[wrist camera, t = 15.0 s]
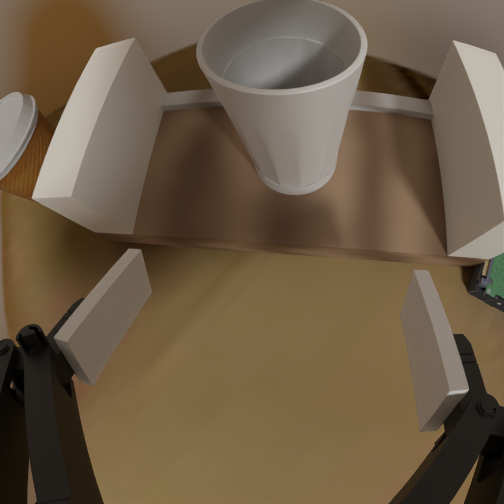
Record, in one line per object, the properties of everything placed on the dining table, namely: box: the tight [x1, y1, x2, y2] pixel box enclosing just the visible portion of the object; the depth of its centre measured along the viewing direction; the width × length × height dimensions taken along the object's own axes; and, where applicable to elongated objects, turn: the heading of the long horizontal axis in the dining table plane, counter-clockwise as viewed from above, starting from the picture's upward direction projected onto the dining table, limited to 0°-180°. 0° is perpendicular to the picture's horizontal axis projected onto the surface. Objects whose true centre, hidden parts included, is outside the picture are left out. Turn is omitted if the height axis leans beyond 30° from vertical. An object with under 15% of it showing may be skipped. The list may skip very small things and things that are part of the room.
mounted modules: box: [32, 38, 504, 259], centre depth 20 cm, size 32×14×8 cm, turn 83°
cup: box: [196, 0, 367, 195], centre depth 18 cm, size 8×8×12 cm
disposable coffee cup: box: [0, 92, 55, 204], centre depth 25 cm, size 10×10×12 cm
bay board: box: [95, 89, 489, 267], centre depth 25 cm, size 32×14×4 cm, turn 83°
